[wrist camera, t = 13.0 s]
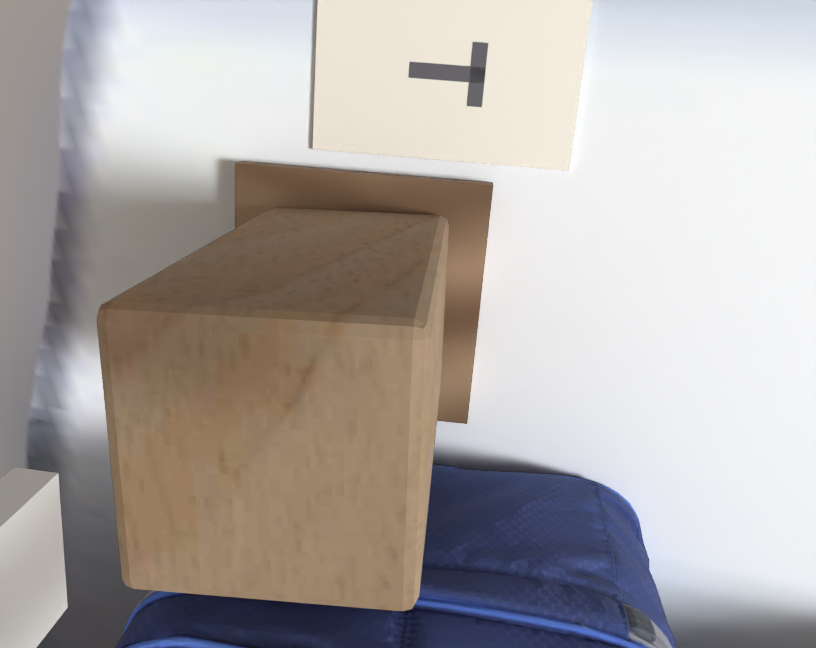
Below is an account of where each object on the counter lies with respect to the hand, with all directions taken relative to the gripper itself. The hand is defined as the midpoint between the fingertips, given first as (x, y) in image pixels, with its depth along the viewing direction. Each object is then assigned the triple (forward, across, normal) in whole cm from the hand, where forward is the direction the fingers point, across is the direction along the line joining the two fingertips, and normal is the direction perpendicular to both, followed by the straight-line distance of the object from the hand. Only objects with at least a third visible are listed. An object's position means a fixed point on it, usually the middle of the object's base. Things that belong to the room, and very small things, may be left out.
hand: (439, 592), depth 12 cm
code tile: (+31, -2, +11) cm, 33 cm away
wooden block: (+29, -6, -4) cm, 30 cm away
